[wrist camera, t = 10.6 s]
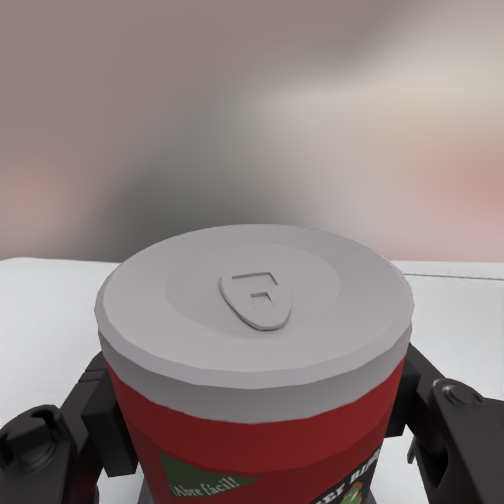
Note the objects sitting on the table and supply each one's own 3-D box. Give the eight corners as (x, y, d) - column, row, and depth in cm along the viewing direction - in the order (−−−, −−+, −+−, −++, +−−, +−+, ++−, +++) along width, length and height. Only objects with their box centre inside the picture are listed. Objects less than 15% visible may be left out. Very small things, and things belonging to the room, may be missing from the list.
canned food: (197, 757, 6) (18, 556, 2) (160, 437, 12) (105, 242, 8) (399, 543, 9) (508, 289, 5) (282, 379, 16) (285, 214, 11)
